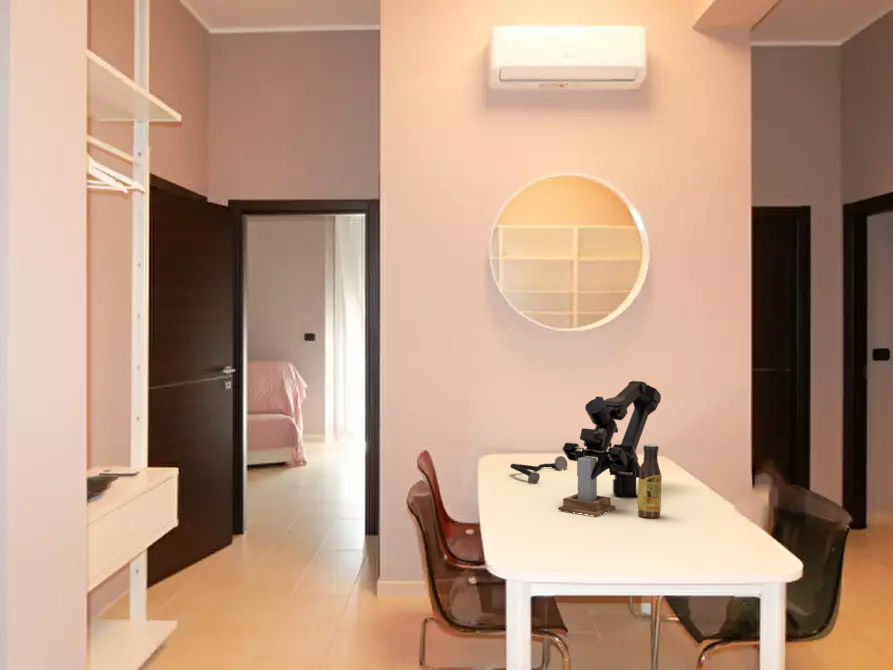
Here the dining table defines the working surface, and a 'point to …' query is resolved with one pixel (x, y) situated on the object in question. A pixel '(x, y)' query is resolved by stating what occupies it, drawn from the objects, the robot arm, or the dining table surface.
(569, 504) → the post socket
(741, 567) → the dining table surface
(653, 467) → the sauce bottle
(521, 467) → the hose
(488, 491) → the dining table surface
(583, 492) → the grey square post
